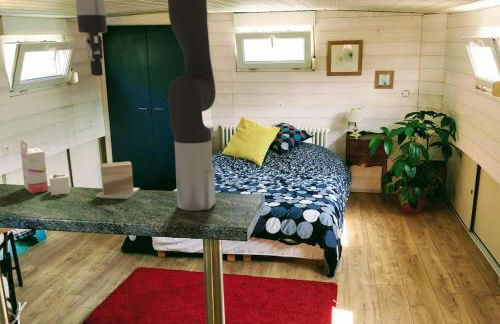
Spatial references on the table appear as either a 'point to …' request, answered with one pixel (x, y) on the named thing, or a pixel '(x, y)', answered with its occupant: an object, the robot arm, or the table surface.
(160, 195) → the table surface
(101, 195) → the sage mat
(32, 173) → the ink cartridge box
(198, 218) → the table surface
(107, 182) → the birch block
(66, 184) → the marked cube
